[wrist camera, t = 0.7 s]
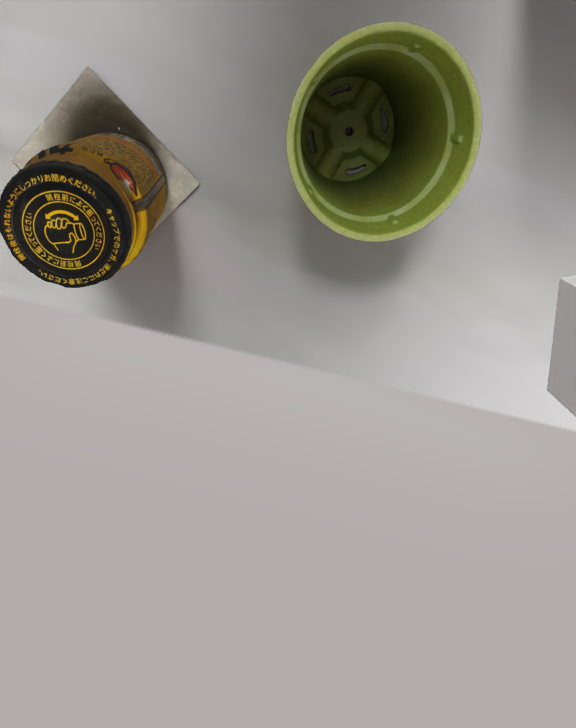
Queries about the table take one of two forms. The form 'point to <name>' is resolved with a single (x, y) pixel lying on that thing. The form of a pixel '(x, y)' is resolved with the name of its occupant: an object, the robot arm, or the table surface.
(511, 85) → the table surface
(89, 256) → the condiment
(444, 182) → the plant pot
